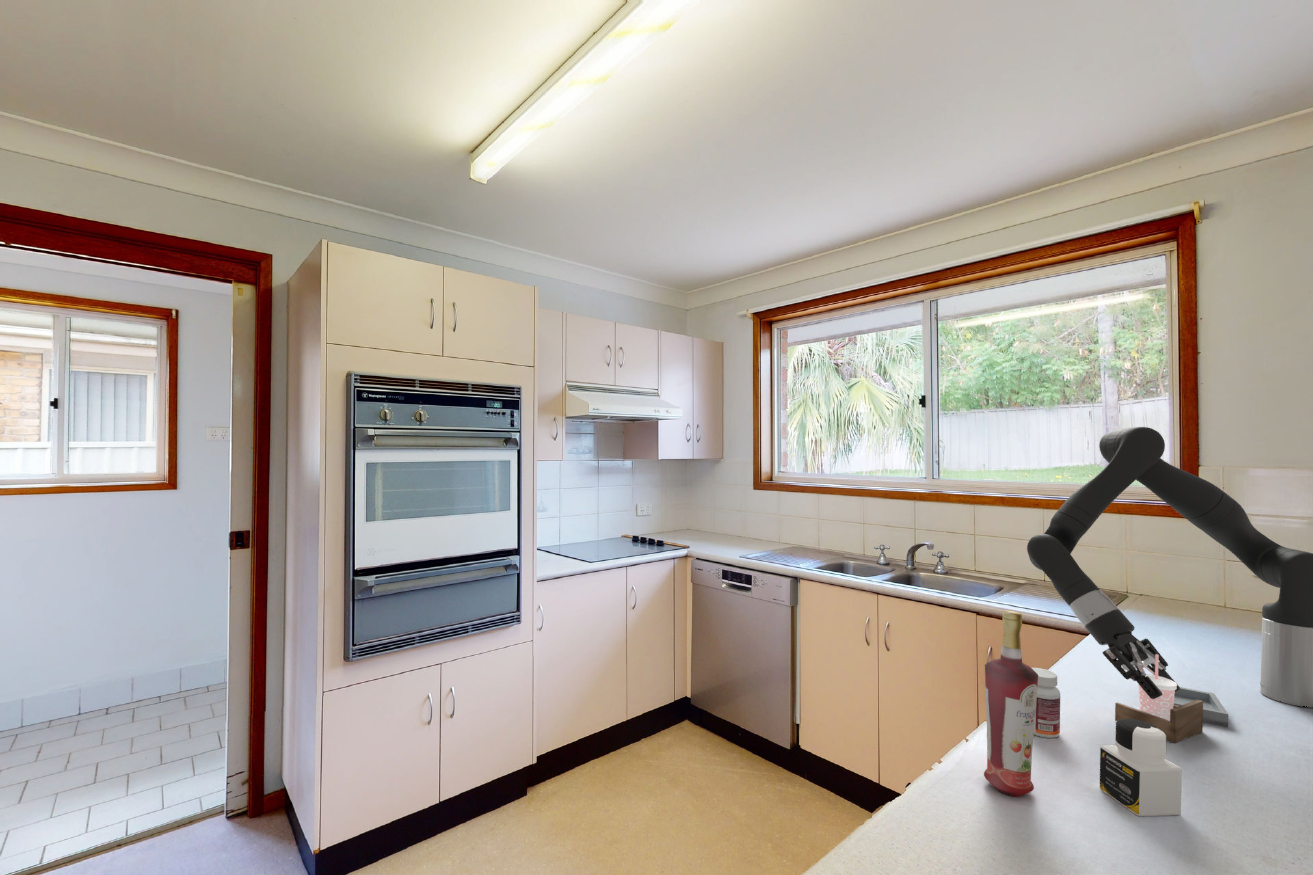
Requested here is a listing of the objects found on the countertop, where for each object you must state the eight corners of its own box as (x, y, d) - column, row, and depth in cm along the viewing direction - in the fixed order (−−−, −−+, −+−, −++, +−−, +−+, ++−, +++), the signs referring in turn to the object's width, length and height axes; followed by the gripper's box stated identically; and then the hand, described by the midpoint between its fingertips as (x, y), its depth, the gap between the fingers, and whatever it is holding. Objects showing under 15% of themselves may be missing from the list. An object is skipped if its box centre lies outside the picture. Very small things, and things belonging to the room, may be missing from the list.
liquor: (1014, 806, 90) (1018, 621, 90) (971, 780, 96) (975, 608, 96) (1046, 796, 92) (1050, 617, 93) (1002, 771, 99) (1006, 604, 99)
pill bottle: (1065, 733, 113) (1066, 674, 113) (1050, 742, 109) (1051, 681, 110) (1030, 720, 118) (1032, 663, 118) (1015, 728, 115) (1016, 669, 115)
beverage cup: (1143, 729, 116) (1144, 657, 116) (1130, 715, 121) (1131, 647, 121) (1182, 735, 113) (1183, 662, 113) (1167, 721, 119) (1168, 651, 119)
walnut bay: (1202, 731, 115) (1203, 701, 115) (1174, 743, 110) (1175, 710, 110) (1142, 710, 124) (1143, 681, 124) (1115, 720, 119) (1115, 690, 119)
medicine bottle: (1098, 788, 95) (1099, 714, 95) (1139, 787, 95) (1141, 713, 95) (1138, 817, 88) (1139, 736, 88) (1182, 815, 88) (1184, 735, 88)
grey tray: (1214, 705, 127) (1214, 693, 127) (1228, 726, 117) (1228, 714, 117) (1142, 690, 134) (1142, 679, 134) (1149, 710, 124) (1150, 698, 124)
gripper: (1095, 611, 121) (1164, 692, 110) (1133, 604, 127) (1202, 680, 117) (1067, 629, 126) (1131, 708, 115) (1105, 621, 132) (1168, 696, 121)
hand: (1166, 693), depth 116 cm, fingers closed on beverage cup, 6 cm apart
